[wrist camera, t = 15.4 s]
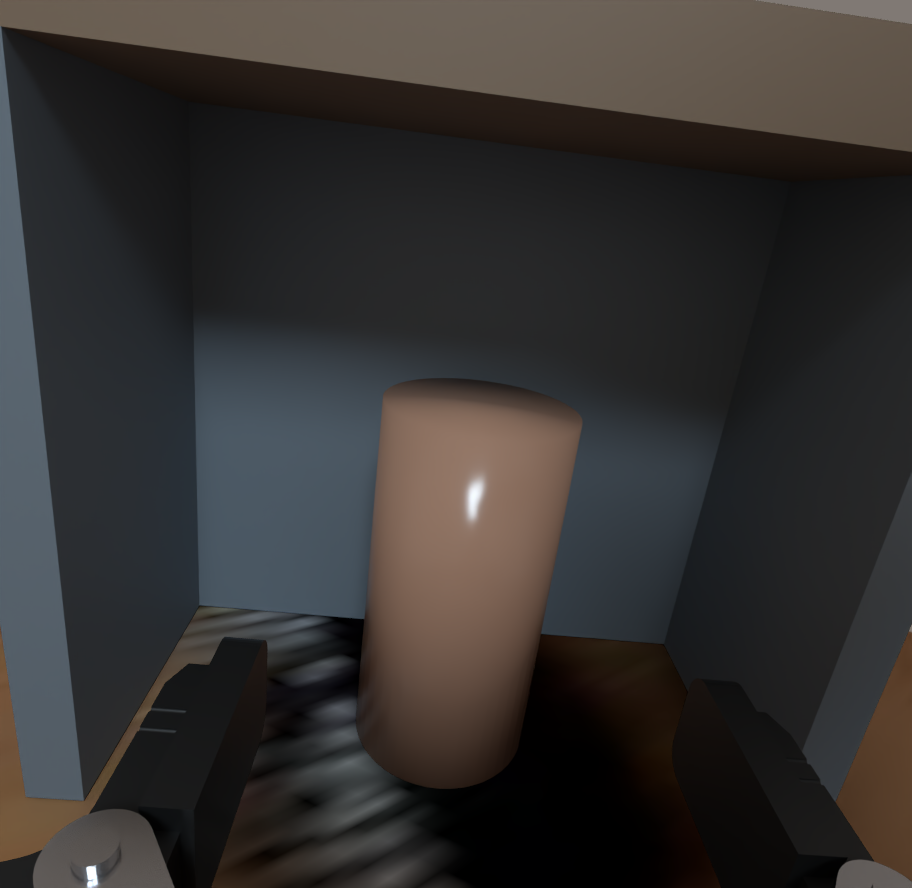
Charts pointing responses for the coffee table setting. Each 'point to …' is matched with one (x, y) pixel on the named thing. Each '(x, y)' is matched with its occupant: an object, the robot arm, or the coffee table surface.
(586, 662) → the coffee table surface
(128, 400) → the counter
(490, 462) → the pinkish-brown cylinder
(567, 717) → the coffee table surface
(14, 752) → the coffee table surface
